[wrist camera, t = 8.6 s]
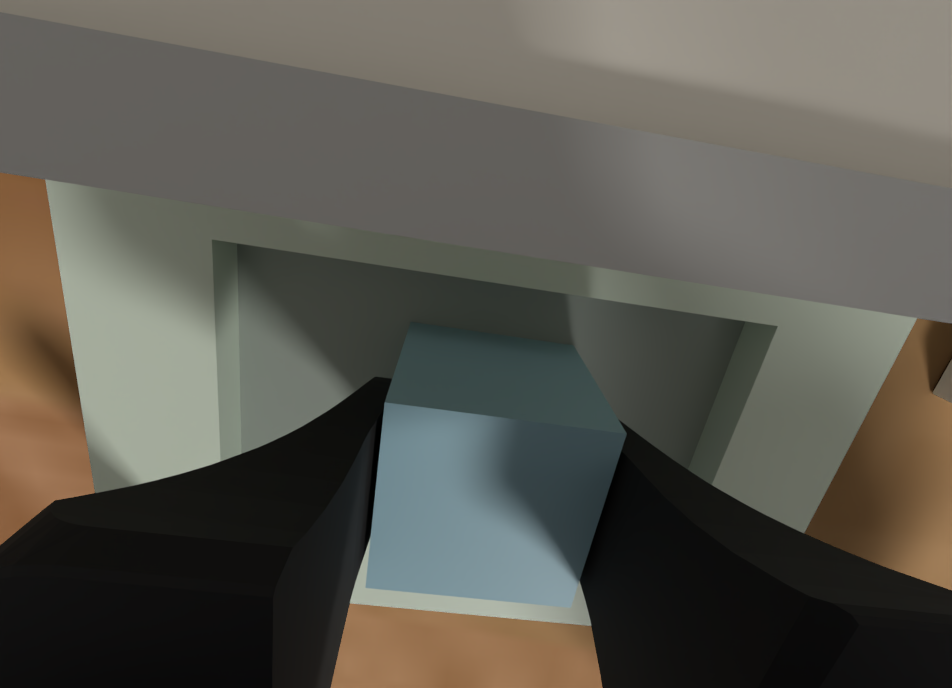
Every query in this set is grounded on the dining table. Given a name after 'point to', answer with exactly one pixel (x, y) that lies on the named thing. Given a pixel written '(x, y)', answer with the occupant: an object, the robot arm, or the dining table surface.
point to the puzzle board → (442, 304)
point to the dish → (945, 385)
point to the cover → (524, 127)
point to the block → (490, 468)
